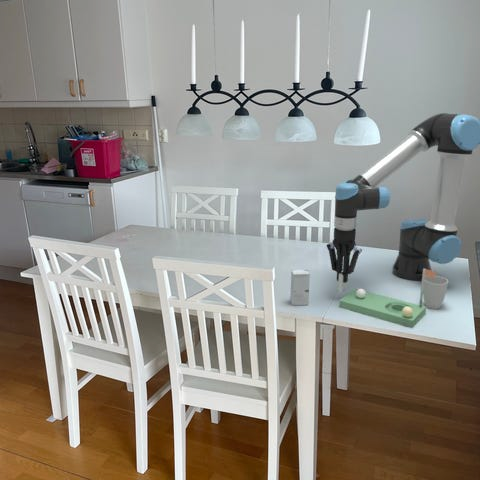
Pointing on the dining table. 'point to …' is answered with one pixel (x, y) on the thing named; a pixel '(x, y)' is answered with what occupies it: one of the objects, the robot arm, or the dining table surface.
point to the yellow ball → (407, 311)
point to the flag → (425, 273)
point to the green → (382, 308)
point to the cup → (434, 291)
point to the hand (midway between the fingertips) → (341, 289)
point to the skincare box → (299, 287)
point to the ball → (360, 293)
